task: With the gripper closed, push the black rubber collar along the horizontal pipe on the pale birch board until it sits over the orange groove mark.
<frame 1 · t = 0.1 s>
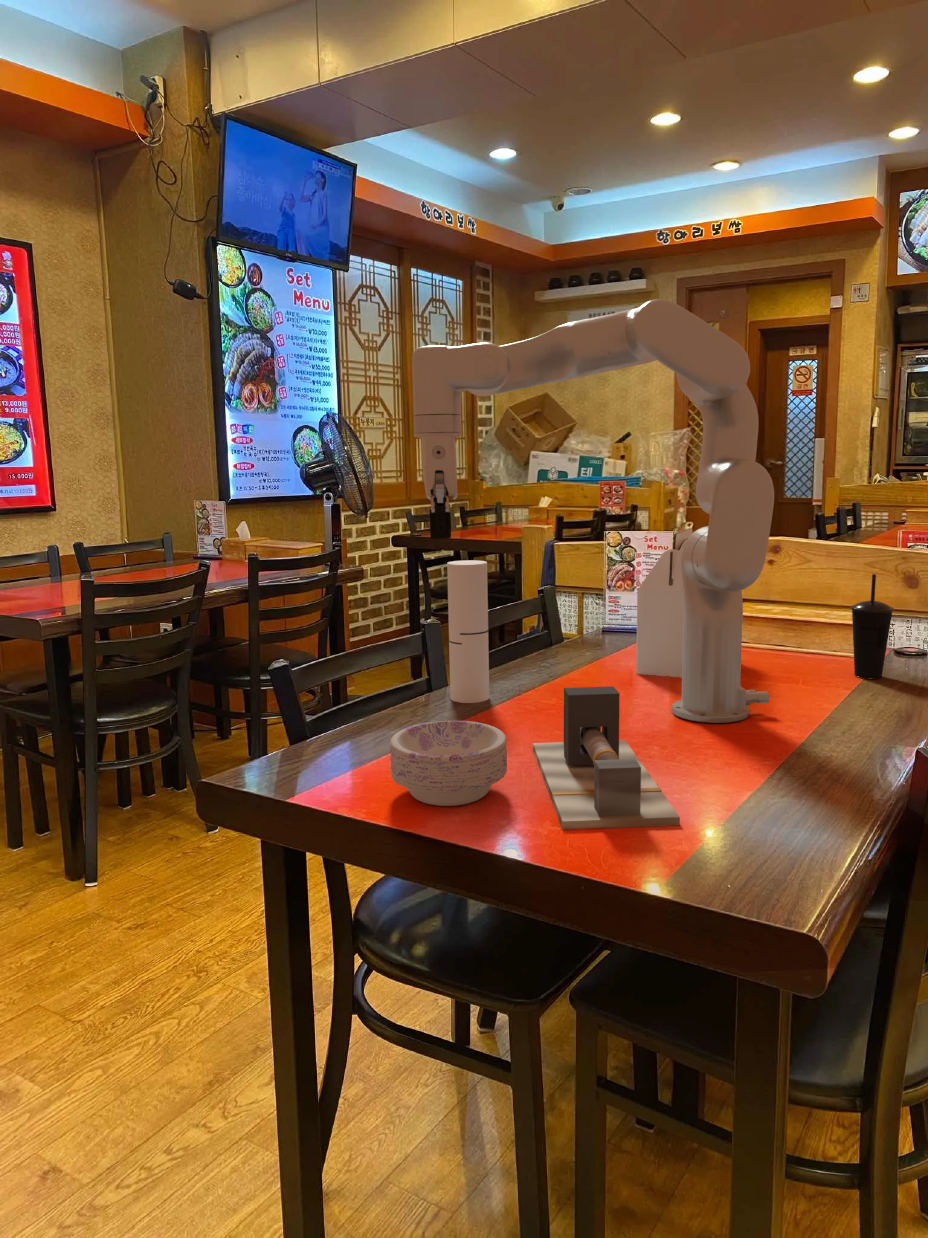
hand: (440, 535, 147), 31 cm above the table, fingers open, 9 cm apart
collar: (591, 725, 126), point 7 cm above the table, slide at -5.0 cm
gable box: (680, 666, 190), on the table
drinking cup: (868, 677, 177), on the table
paper bowls: (449, 795, 120), on the table
cylindrical container: (469, 699, 167), on the table
pipe rig: (597, 782, 123), on the table
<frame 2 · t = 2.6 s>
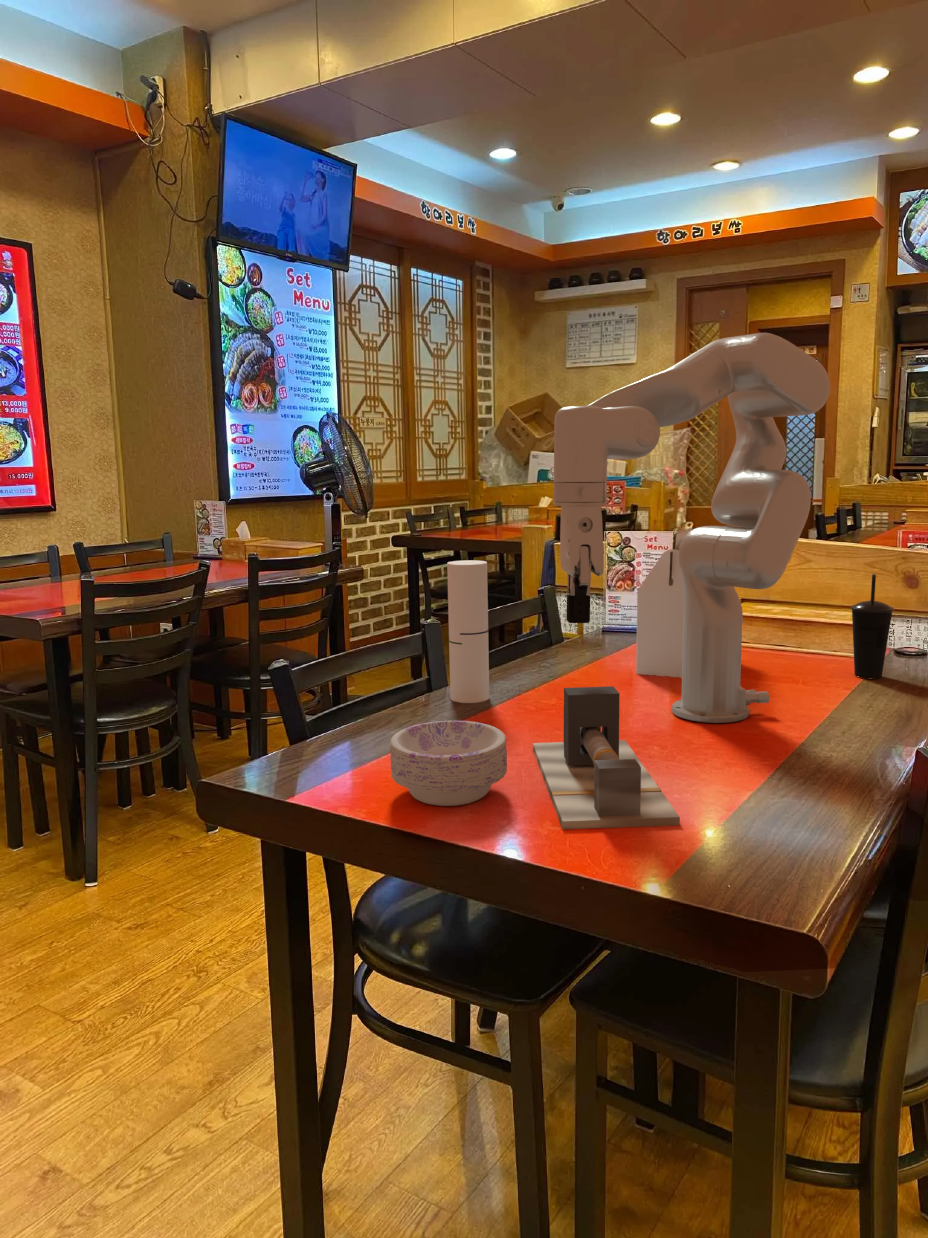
hand: (578, 621, 133), 20 cm above the table, fingers closed
nothing on the table moved.
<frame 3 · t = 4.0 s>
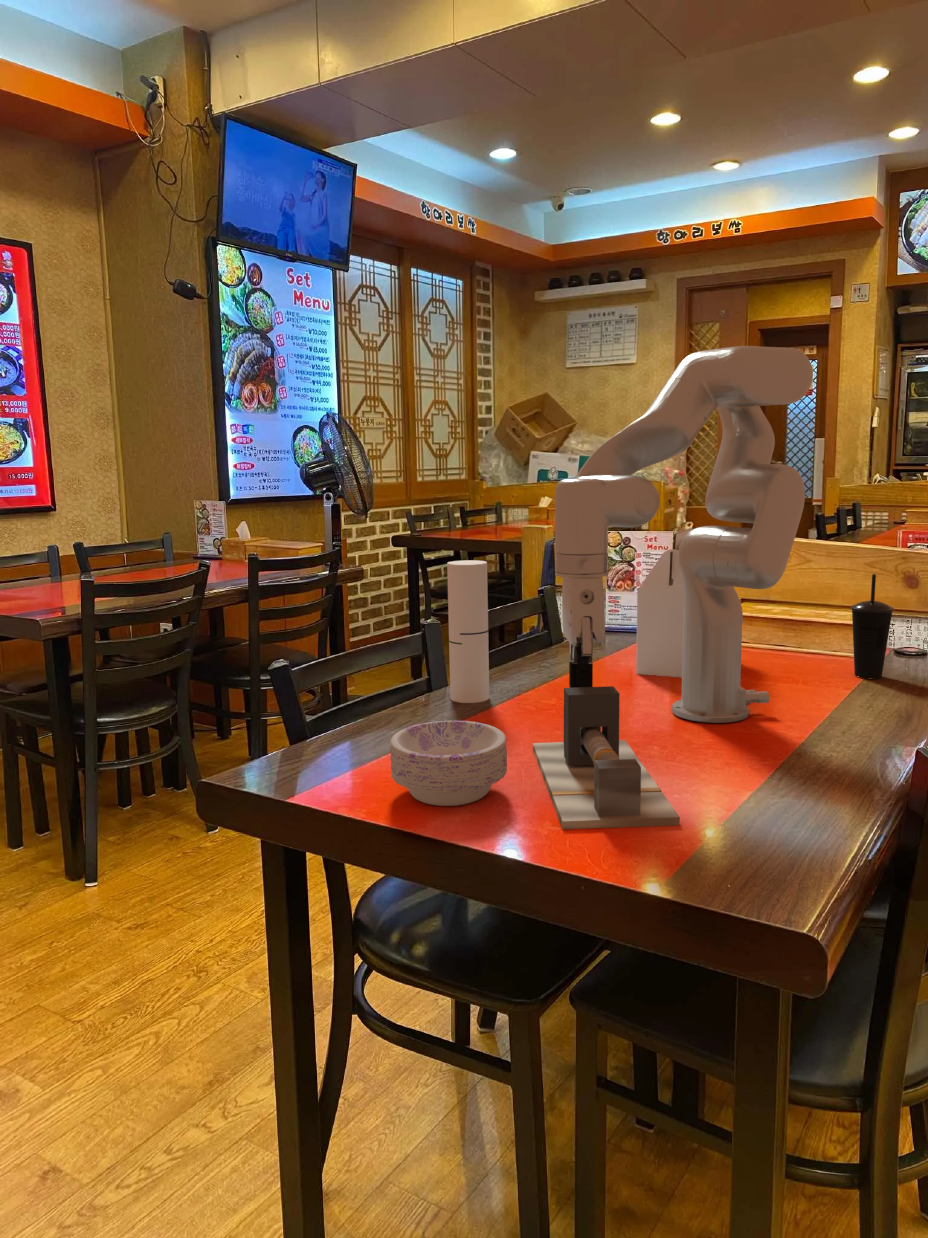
hand: (580, 688, 134), 10 cm above the table, fingers closed
nothing on the table moved.
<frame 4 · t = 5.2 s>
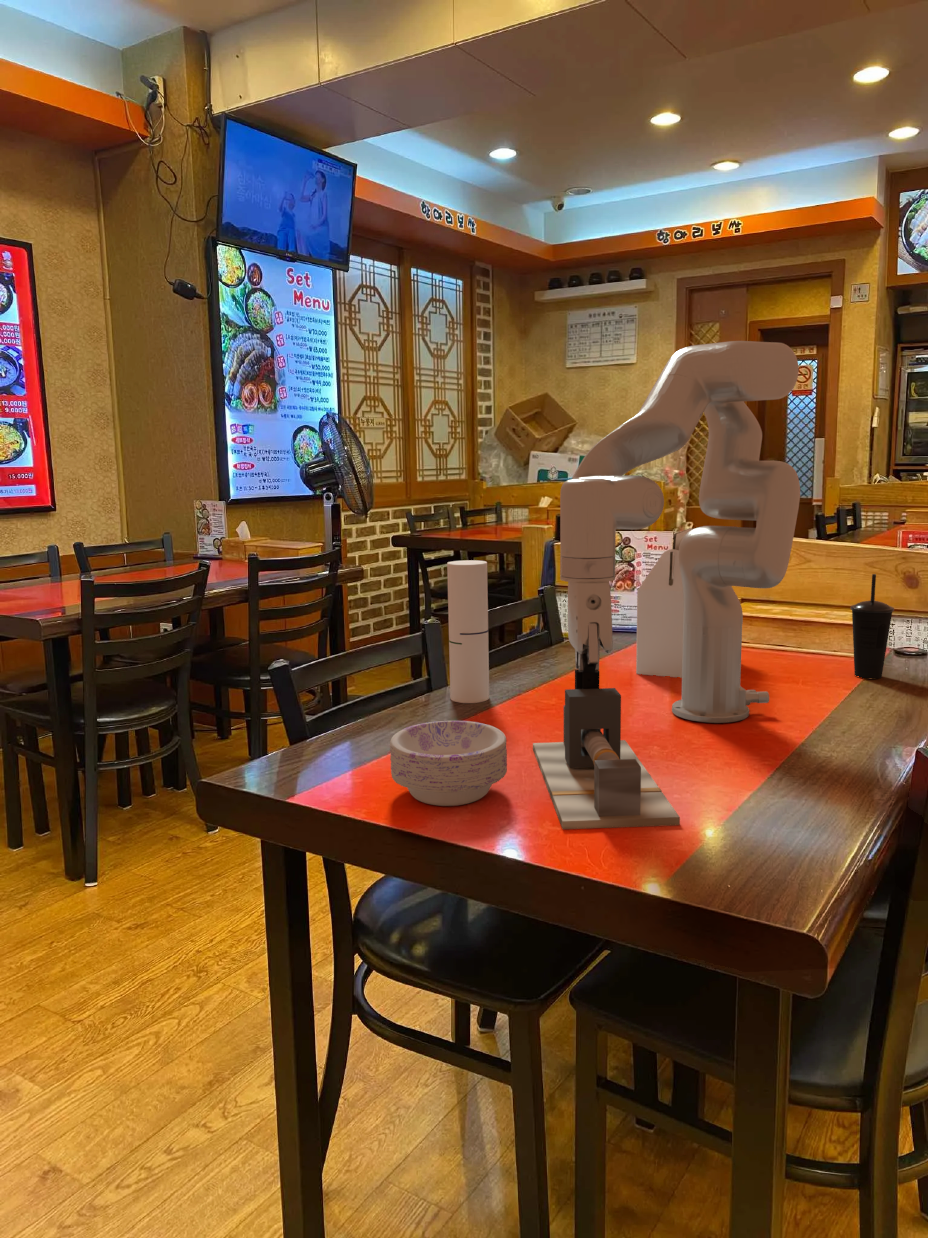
hand: (586, 697, 129), 10 cm above the table, fingers closed
collar: (592, 727, 126), point 6 cm above the table, slide at -4.0 cm, touching gripper
everything else where it was.
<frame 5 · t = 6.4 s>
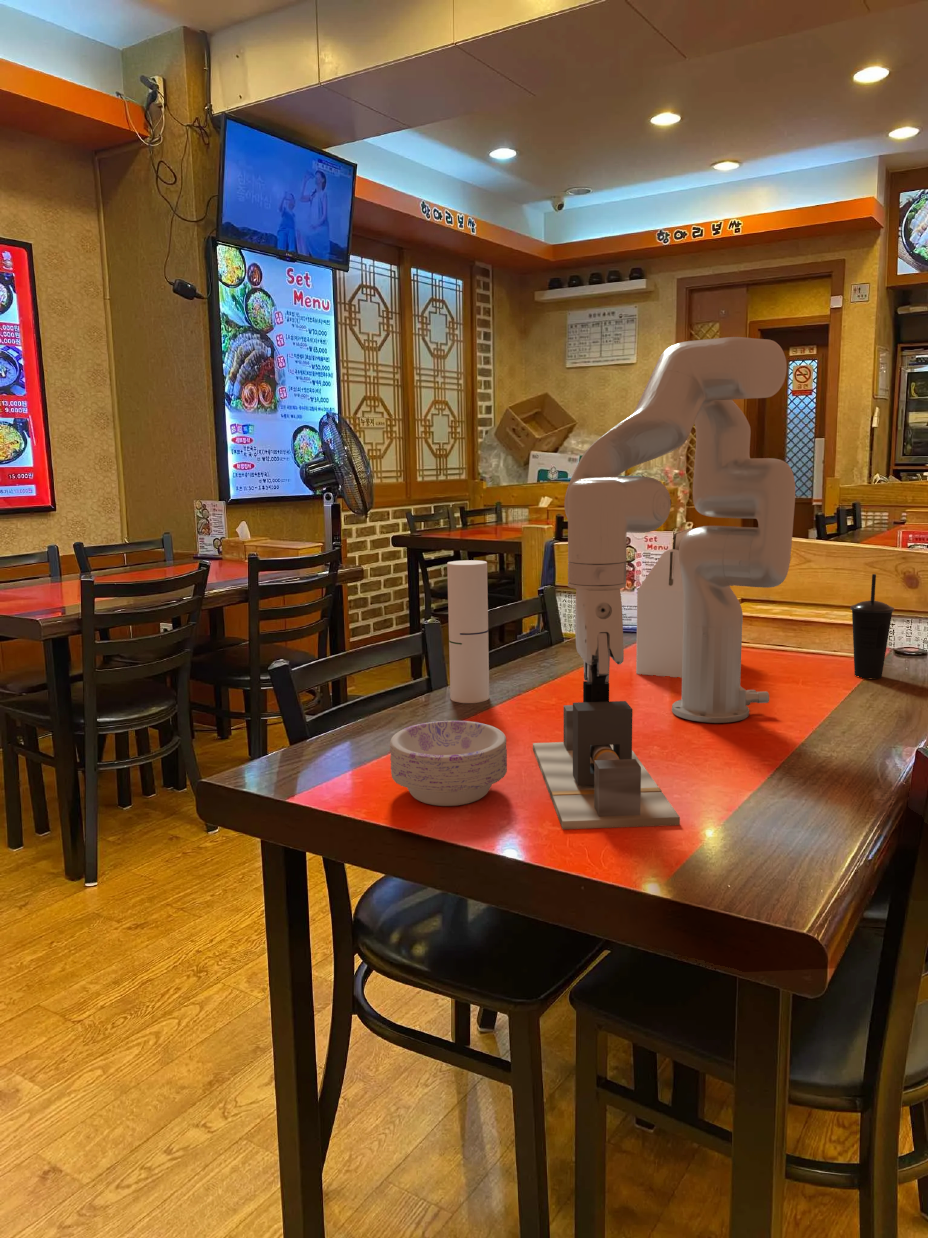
hand: (596, 711, 122), 10 cm above the table, fingers closed
collar: (601, 743, 119), point 6 cm above the table, slide at 2.9 cm, touching gripper
everything else where it was.
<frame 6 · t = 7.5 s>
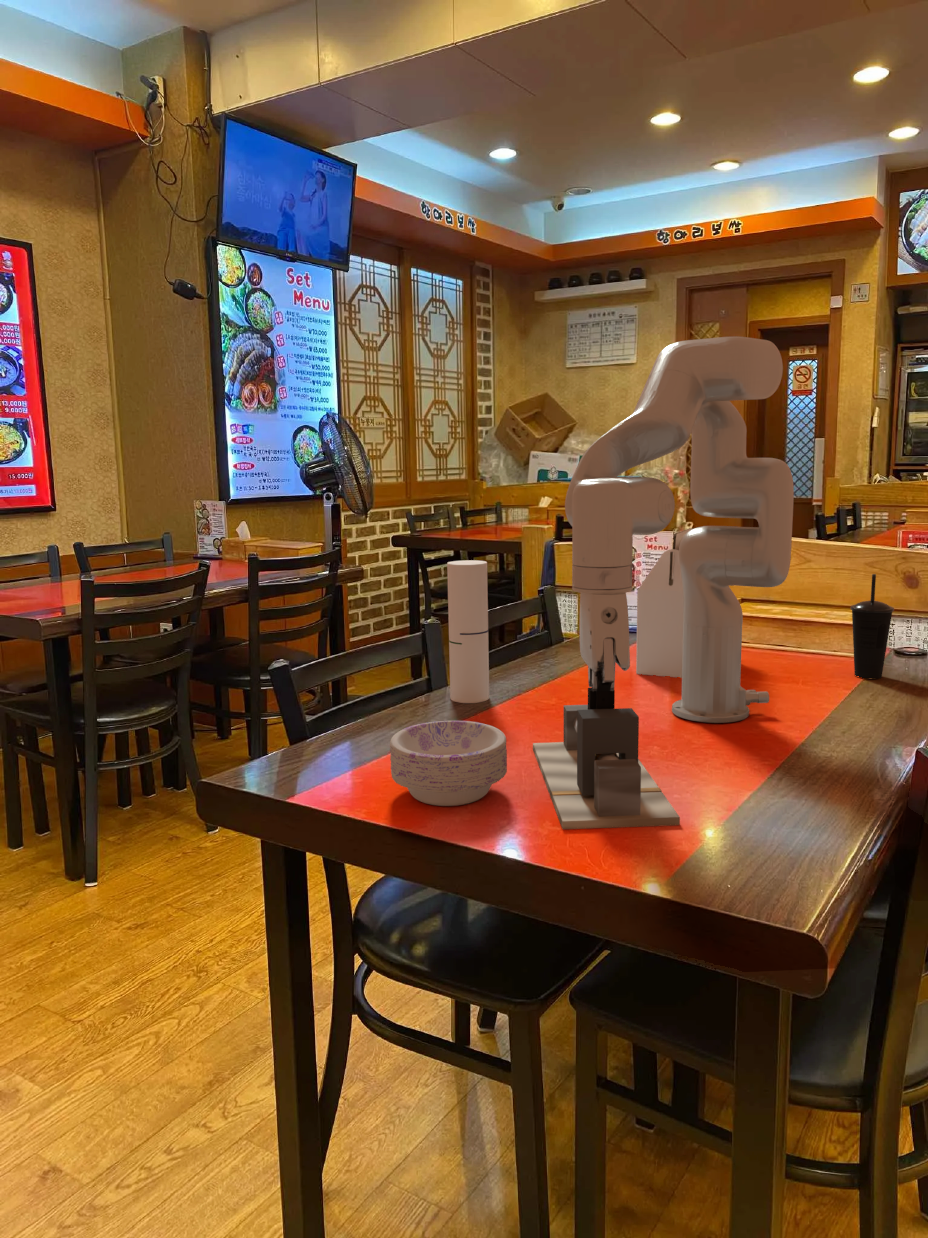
hand: (600, 718, 119), 10 cm above the table, fingers closed
collar: (607, 751, 115), point 6 cm above the table, slide at 6.3 cm, touching gripper
everything else where it was.
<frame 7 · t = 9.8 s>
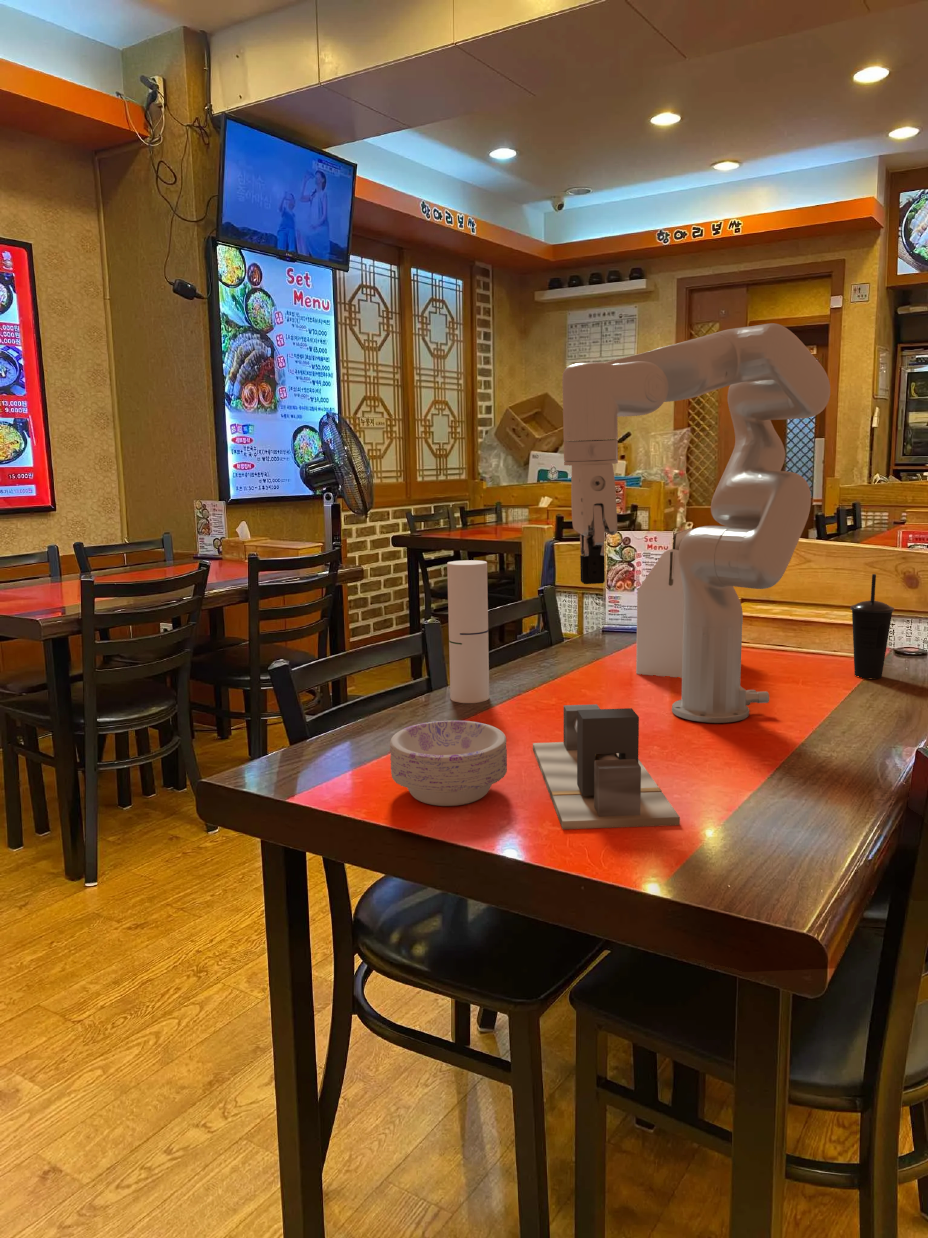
hand: (592, 582, 132), 25 cm above the table, fingers closed
collar: (607, 751, 115), point 6 cm above the table, slide at 6.4 cm
everything else where it was.
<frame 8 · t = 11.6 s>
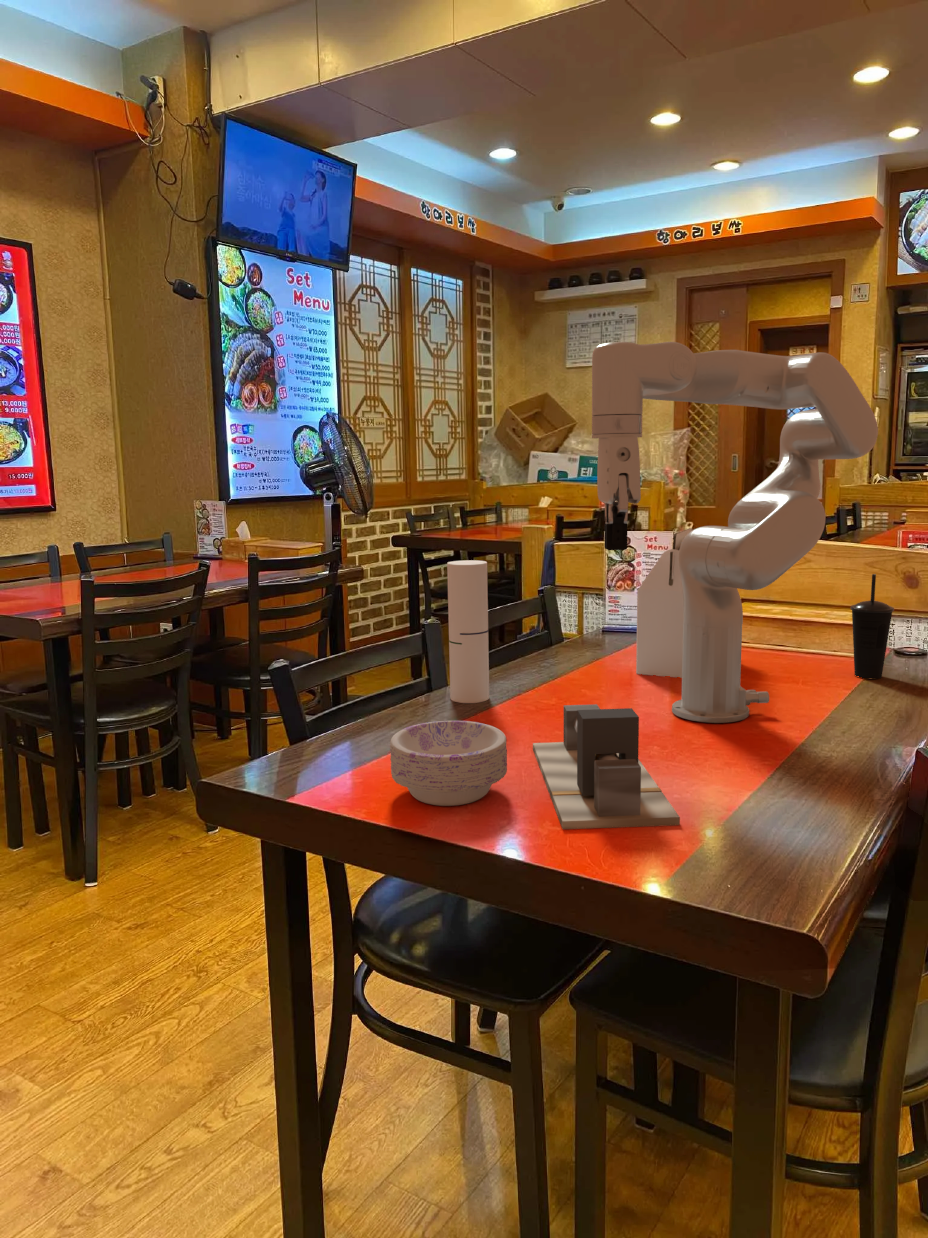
hand: (615, 549, 140), 29 cm above the table, fingers closed
nothing on the table moved.
at the end: collar slide at 6.4 cm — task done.
